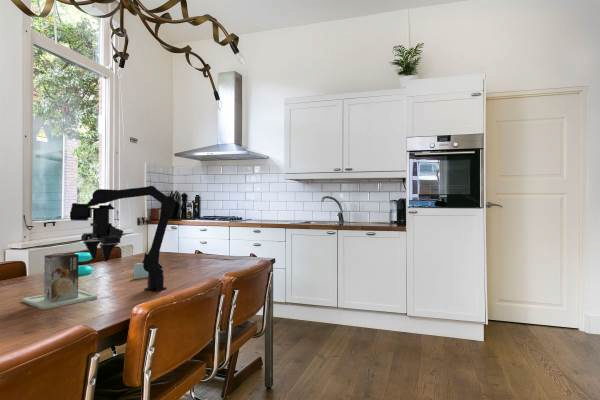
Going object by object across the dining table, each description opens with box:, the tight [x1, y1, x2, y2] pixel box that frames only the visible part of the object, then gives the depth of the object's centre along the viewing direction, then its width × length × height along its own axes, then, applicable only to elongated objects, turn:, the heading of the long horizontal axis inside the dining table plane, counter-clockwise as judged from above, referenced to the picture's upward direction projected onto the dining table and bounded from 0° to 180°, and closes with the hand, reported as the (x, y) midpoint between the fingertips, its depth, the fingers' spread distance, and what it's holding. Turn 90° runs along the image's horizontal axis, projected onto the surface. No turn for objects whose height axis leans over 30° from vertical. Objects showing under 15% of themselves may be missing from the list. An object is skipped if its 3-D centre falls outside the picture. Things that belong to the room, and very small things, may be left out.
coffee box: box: [43, 252, 79, 302], centre depth 135 cm, size 9×6×16 cm
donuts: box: [74, 251, 94, 276], centre depth 180 cm, size 10×10×10 cm
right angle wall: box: [133, 262, 149, 280], centre depth 180 cm, size 12×12×8 cm
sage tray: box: [22, 289, 98, 311], centre depth 135 cm, size 16×18×1 cm
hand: (100, 259), depth 146 cm, fingers open, 9 cm apart
